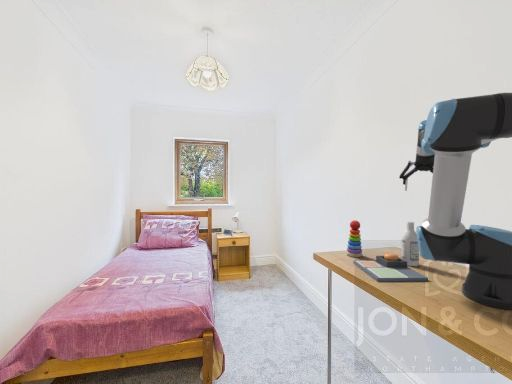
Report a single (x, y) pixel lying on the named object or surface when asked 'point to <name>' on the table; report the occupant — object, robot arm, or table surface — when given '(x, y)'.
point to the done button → (391, 257)
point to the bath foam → (410, 246)
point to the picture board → (389, 270)
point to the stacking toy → (354, 240)
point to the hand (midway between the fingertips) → (421, 190)
